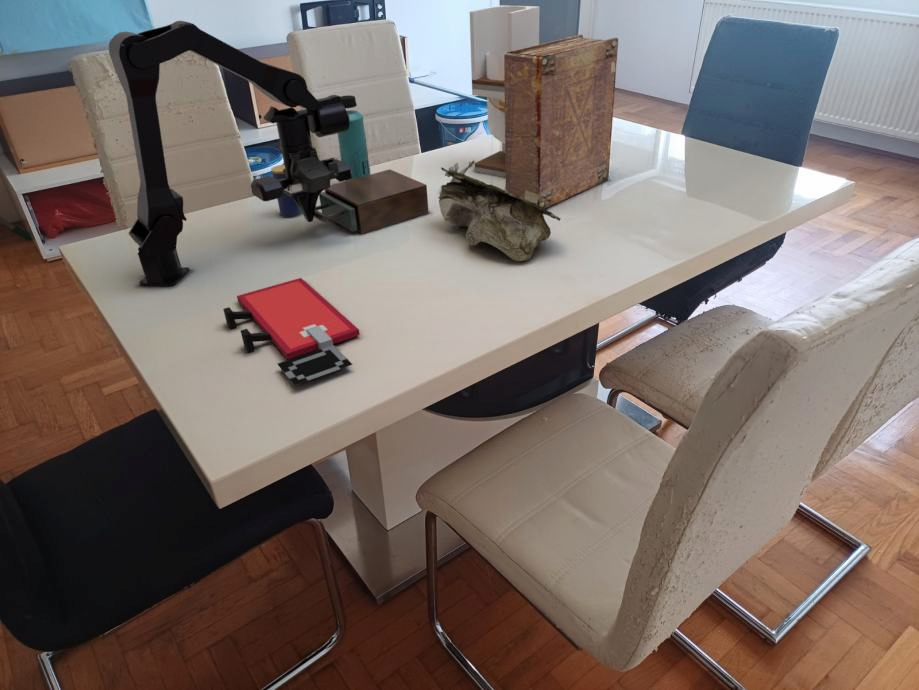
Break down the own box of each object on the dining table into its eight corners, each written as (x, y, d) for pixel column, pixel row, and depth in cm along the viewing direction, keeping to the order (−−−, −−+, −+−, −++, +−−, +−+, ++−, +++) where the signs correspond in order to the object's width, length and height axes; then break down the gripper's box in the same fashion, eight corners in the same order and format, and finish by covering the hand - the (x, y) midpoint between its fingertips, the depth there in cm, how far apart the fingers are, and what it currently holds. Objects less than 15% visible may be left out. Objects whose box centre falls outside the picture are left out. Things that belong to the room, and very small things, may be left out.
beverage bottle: (367, 189, 156) (356, 99, 145) (339, 188, 157) (327, 99, 147) (375, 180, 161) (365, 93, 151) (349, 179, 163) (337, 93, 152)
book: (575, 172, 160) (582, 34, 144) (608, 180, 154) (619, 37, 138) (505, 203, 145) (503, 52, 129) (539, 212, 139) (541, 56, 123)
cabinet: (361, 234, 134) (357, 204, 130) (328, 215, 143) (323, 186, 140) (428, 213, 142) (426, 184, 138) (392, 196, 151) (390, 169, 148)
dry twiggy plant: (449, 204, 146) (429, 179, 151) (462, 216, 151) (443, 192, 156) (483, 171, 144) (462, 147, 148) (495, 184, 149) (475, 161, 153)
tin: (297, 217, 143) (289, 171, 137) (276, 217, 143) (267, 171, 138) (304, 209, 147) (296, 164, 141) (284, 209, 147) (275, 164, 142)
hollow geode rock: (449, 239, 141) (400, 201, 131) (483, 188, 141) (437, 146, 130) (534, 284, 120) (484, 242, 110) (574, 224, 120) (528, 177, 110)
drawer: (331, 238, 131) (327, 216, 128) (301, 220, 140) (297, 198, 137) (416, 212, 140) (414, 190, 138) (384, 196, 149) (381, 176, 147)
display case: (500, 158, 171) (498, 5, 152) (536, 165, 166) (539, 6, 147) (474, 171, 163) (469, 11, 145) (511, 178, 158) (511, 13, 139)
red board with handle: (282, 396, 88) (383, 359, 95) (278, 378, 87) (381, 342, 94) (215, 310, 110) (302, 285, 117) (211, 294, 108) (299, 270, 115)
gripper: (266, 163, 115) (283, 247, 123) (361, 140, 124) (371, 220, 133) (241, 149, 123) (259, 230, 131) (332, 129, 132) (344, 205, 140)
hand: (310, 221), depth 134 cm, fingers closed
